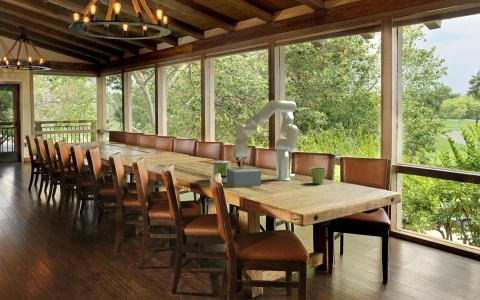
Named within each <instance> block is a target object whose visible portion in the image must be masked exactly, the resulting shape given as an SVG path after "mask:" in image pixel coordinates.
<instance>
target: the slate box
mask: <svg viewBox="0 0 480 300" xmlns="http://www.w3.org/2000/svg"><path fill="white" fill-rule="evenodd" d="M226 184H227V185H228V184H229V186H231V187H233V188H245V187H246V188H247V187H248V188H249V187H259V186H260V187H261V186H262V171H261V172H244V173H234V172H231V171H229V170H227V182H226Z"/></svg>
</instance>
